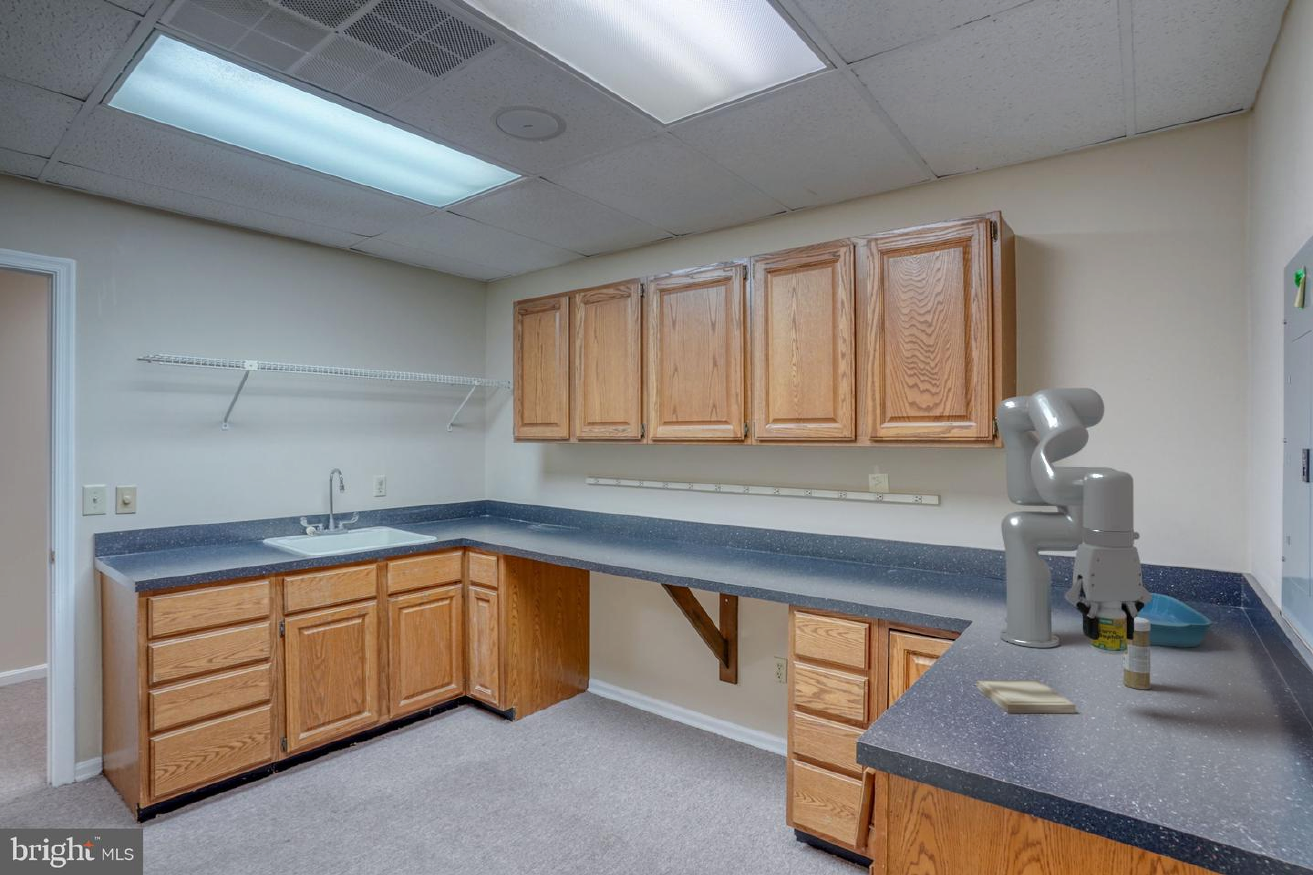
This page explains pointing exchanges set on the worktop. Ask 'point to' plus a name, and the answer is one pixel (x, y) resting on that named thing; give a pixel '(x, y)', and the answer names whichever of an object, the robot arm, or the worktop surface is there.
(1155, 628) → the casserole dish
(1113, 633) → the supplement bottle
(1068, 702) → the cream square tray
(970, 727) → the worktop surface
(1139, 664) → the sprinkles bottle
